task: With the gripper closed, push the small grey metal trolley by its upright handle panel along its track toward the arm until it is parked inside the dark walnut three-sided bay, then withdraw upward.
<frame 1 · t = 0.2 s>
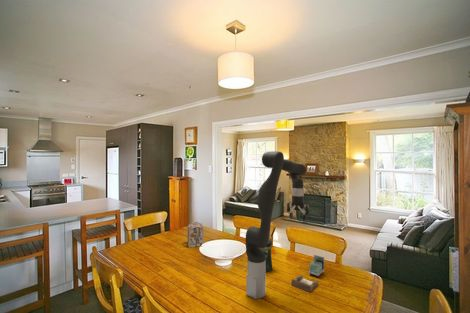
hand: (297, 219, 153), 29 cm above the table, fingers open, 8 cm apart
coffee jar: (264, 269, 145), on the table
bay: (304, 284, 127), on the table
decorative jar: (195, 245, 187), on the table
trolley: (316, 266, 139), point 5 cm above the table, slide at 0.0 cm
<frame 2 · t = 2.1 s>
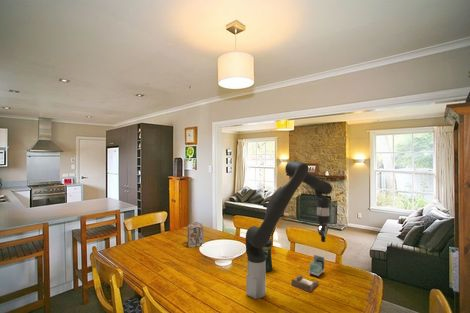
hand: (323, 241, 147), 16 cm above the table, fingers closed
nothing on the table moved.
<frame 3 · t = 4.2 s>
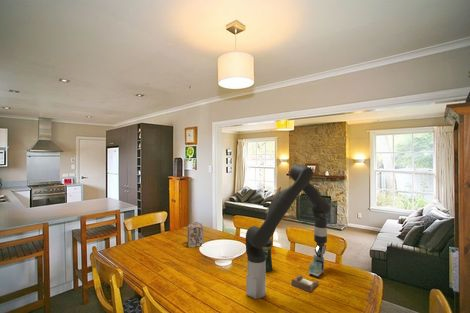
hand: (320, 262, 144), 5 cm above the table, fingers closed
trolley: (316, 266, 139), point 5 cm above the table, slide at 0.5 cm, touching gripper
everything else where it was.
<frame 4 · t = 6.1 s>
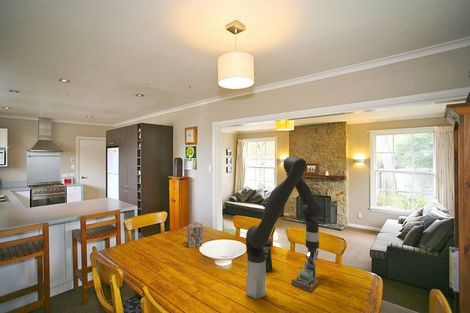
hand: (312, 268, 135), 5 cm above the table, fingers closed
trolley: (307, 274, 129), point 5 cm above the table, slide at 13.0 cm, touching gripper
everything else where it was.
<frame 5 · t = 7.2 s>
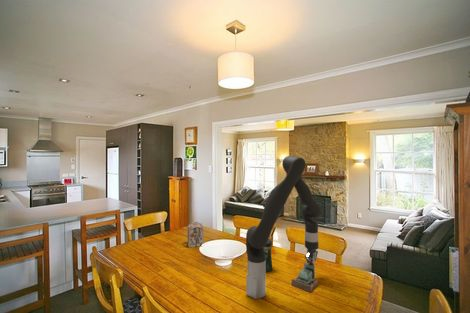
hand: (311, 269, 134), 5 cm above the table, fingers closed
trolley: (306, 274, 128), point 5 cm above the table, slide at 14.3 cm
everything else where it was.
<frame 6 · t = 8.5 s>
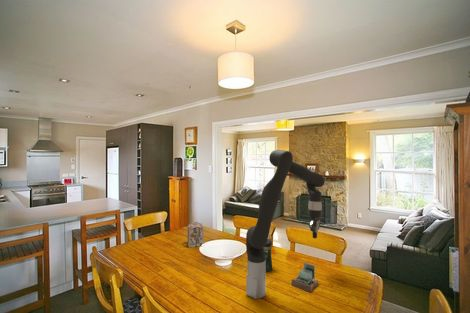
hand: (314, 237, 138), 22 cm above the table, fingers closed
nothing on the table moved.
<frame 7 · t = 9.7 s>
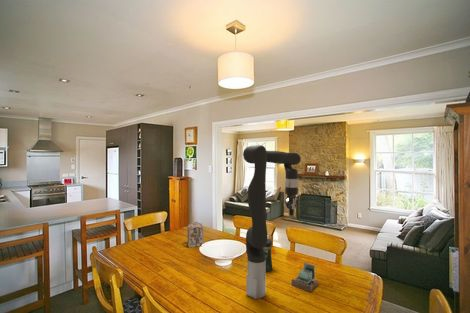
hand: (291, 215, 139), 35 cm above the table, fingers closed
nothing on the table moved.
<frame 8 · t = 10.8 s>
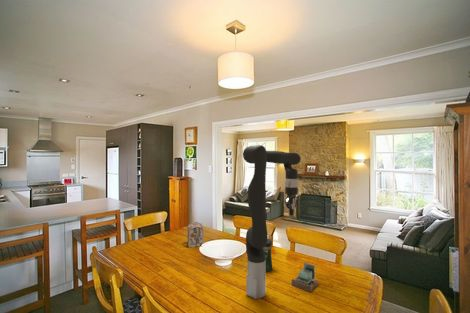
hand: (291, 215, 139), 35 cm above the table, fingers closed
nothing on the table moved.
at the end: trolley slide at 14.3 cm; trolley inside the target area (0.3 cm from its centre), resting on bay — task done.
